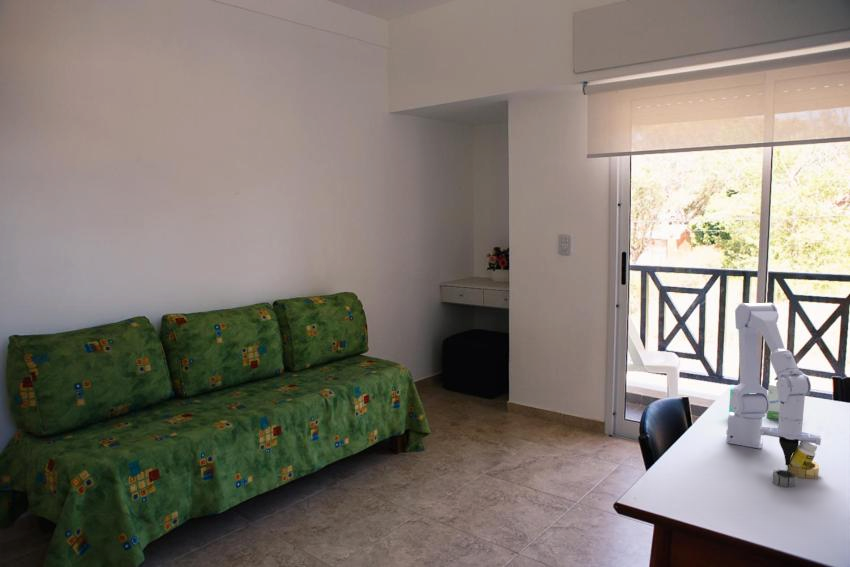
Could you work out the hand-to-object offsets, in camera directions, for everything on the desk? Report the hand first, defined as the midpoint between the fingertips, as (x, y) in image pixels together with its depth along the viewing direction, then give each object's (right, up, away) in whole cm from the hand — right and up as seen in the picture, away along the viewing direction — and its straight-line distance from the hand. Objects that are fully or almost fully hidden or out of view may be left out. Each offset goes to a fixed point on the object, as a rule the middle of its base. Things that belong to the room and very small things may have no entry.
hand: (787, 463), depth 169 cm
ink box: (+22, +4, +43) cm, 48 cm away
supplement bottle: (+2, -1, -1) cm, 3 cm away
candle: (+7, +3, +40) cm, 41 cm away
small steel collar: (-6, -3, -8) cm, 10 cm away
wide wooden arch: (+3, -2, -1) cm, 4 cm away
